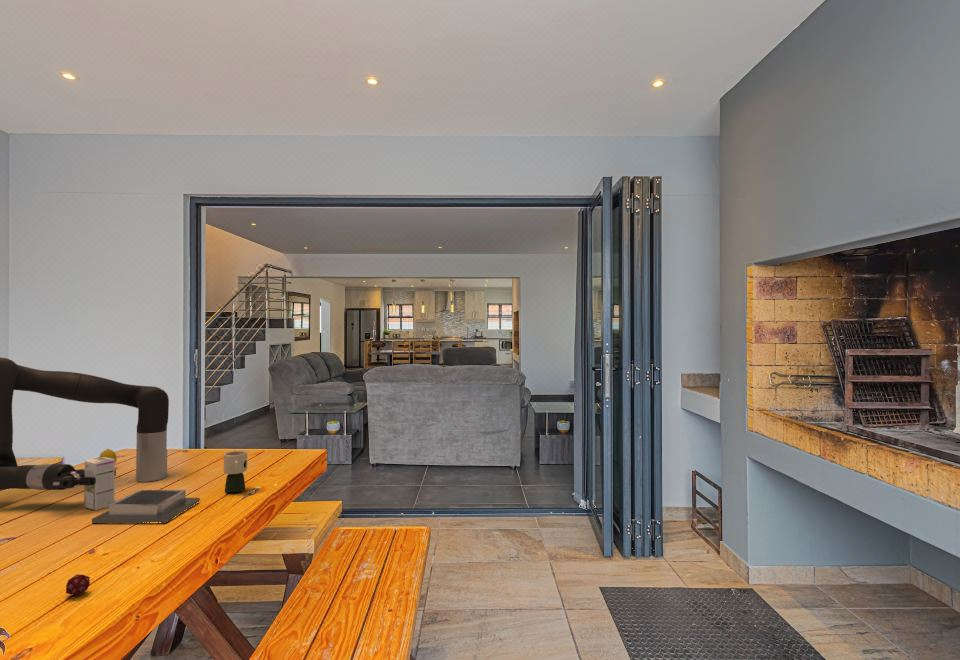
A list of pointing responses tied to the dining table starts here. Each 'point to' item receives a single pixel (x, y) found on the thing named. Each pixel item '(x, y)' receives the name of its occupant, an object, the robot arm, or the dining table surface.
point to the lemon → (108, 454)
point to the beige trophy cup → (235, 470)
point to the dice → (77, 584)
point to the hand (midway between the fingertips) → (105, 477)
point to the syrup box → (100, 483)
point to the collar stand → (147, 507)
